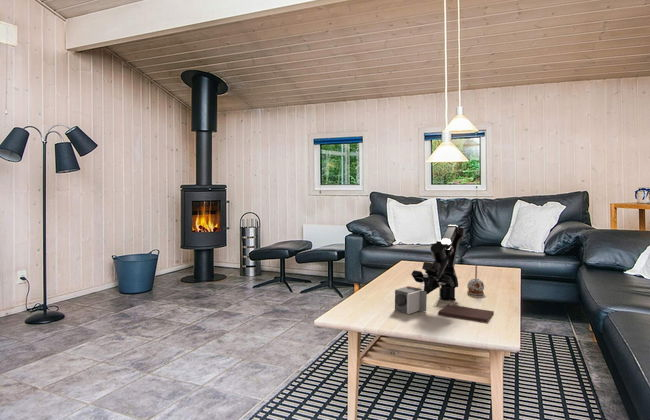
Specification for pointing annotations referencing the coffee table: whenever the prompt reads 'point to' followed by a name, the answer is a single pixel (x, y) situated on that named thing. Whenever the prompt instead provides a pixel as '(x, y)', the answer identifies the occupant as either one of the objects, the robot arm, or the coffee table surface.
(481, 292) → the decorative ornament
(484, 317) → the notebook
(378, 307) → the coffee table surface
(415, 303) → the door
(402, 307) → the block
